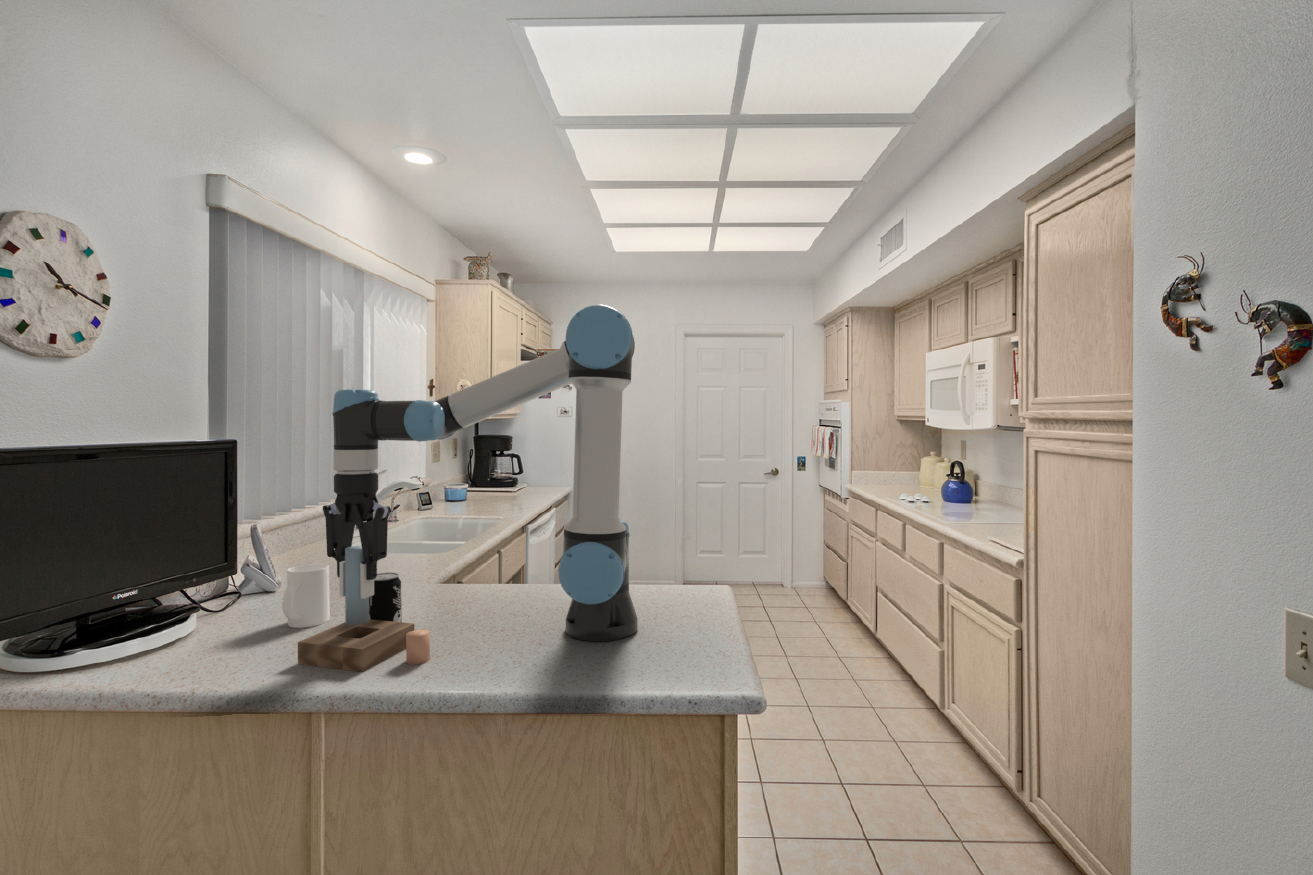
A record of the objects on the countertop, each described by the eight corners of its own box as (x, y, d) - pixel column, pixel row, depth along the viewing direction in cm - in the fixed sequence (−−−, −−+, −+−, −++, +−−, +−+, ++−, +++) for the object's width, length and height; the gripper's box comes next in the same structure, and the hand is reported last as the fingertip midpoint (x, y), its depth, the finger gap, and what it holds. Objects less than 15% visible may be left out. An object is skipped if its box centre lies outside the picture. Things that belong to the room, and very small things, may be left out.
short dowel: (434, 657, 112) (434, 630, 112) (420, 665, 108) (420, 638, 108) (415, 655, 113) (415, 628, 113) (401, 663, 109) (401, 636, 109)
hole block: (414, 643, 119) (414, 623, 119) (363, 671, 105) (362, 649, 105) (355, 637, 123) (354, 618, 122) (297, 664, 109) (297, 642, 109)
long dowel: (373, 619, 115) (373, 546, 115) (358, 625, 111) (358, 550, 111) (356, 617, 116) (355, 545, 116) (340, 624, 112) (339, 549, 112)
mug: (265, 634, 125) (264, 576, 124) (301, 615, 137) (300, 563, 136) (304, 634, 124) (303, 576, 124) (337, 616, 136) (336, 563, 136)
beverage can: (388, 639, 121) (387, 580, 121) (359, 637, 122) (358, 579, 122) (408, 629, 128) (407, 572, 127) (380, 627, 129) (379, 571, 129)
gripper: (408, 471, 115) (408, 593, 115) (334, 469, 119) (335, 587, 120) (380, 474, 107) (381, 605, 108) (302, 472, 112) (304, 597, 112)
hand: (357, 595), depth 114 cm, fingers closed on long dowel, 4 cm apart
